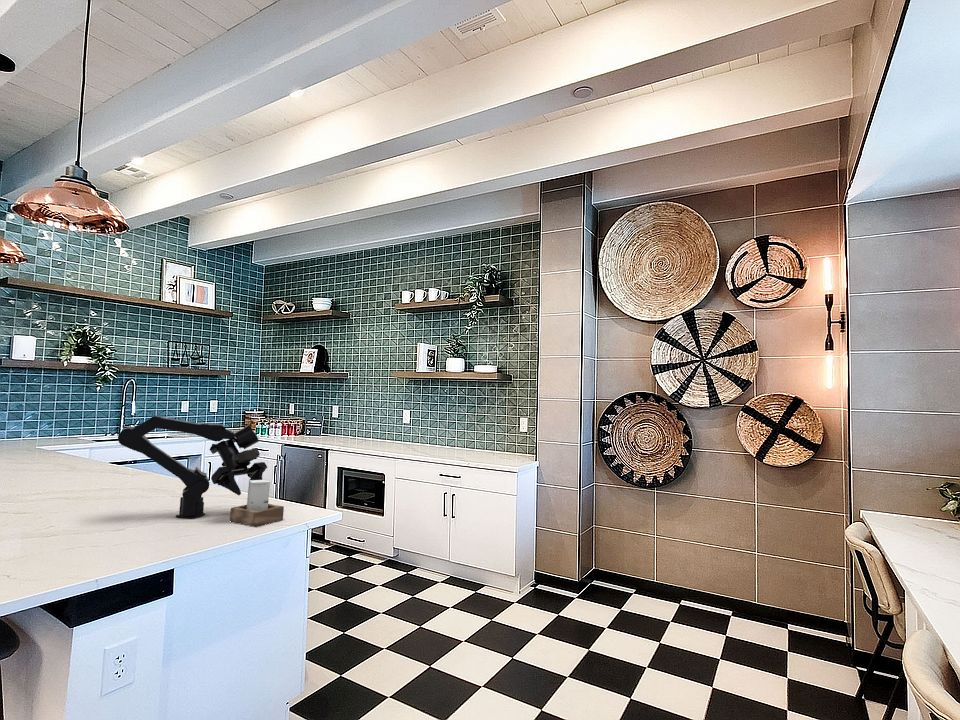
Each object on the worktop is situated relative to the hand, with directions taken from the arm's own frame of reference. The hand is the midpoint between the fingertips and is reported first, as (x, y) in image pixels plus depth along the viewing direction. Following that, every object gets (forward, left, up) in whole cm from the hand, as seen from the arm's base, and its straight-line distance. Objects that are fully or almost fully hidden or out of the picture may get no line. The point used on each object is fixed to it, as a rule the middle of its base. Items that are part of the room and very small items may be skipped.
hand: (251, 492), depth 180 cm
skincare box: (+3, 0, -8) cm, 9 cm away
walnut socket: (+3, 0, -9) cm, 9 cm away
